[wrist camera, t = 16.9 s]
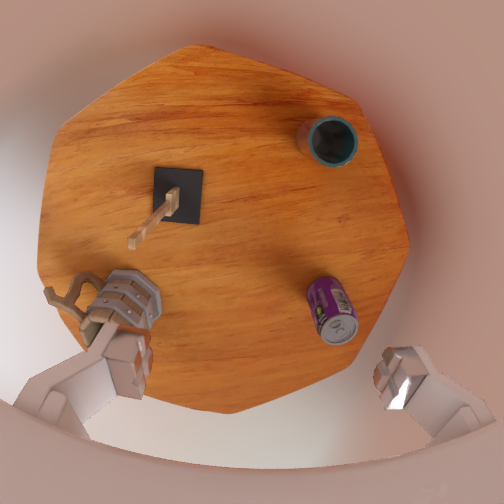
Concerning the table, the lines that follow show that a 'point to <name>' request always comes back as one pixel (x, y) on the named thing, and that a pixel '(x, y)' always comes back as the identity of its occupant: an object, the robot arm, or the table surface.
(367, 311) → the table surface
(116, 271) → the tankard
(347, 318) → the beverage can
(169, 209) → the wooden stir stick
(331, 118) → the cup
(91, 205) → the table surface
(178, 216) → the mat
